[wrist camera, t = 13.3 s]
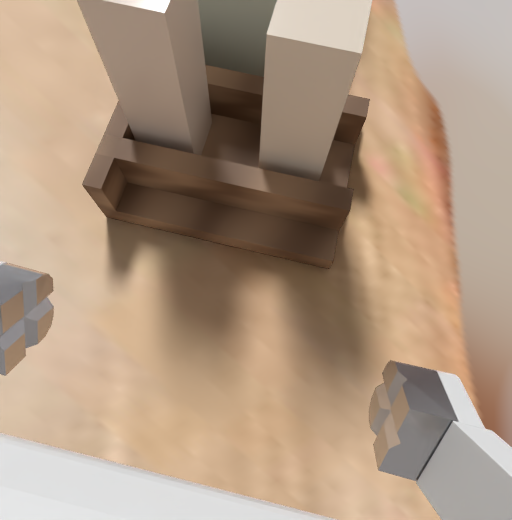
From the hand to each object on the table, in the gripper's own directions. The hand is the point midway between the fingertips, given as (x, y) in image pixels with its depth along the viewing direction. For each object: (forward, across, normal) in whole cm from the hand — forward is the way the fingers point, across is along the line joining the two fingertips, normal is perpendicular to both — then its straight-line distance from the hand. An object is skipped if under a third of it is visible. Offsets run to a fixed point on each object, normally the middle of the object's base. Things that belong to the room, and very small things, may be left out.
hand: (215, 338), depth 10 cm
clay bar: (+21, -1, 0) cm, 21 cm away
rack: (+22, +3, +1) cm, 22 cm away
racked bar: (+21, +7, 0) cm, 23 cm away
